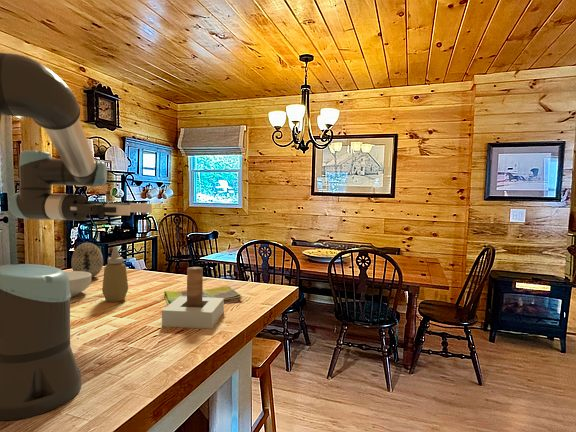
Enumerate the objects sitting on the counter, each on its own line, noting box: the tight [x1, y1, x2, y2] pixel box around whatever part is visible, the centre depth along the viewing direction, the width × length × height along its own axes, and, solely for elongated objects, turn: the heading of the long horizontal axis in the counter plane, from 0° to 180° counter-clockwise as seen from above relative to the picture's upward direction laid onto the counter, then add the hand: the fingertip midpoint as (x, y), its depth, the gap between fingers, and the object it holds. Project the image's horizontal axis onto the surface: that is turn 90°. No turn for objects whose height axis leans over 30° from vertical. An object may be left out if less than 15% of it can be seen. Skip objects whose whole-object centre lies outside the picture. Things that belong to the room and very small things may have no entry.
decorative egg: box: [70, 242, 104, 279], centre depth 154 cm, size 12×12×15 cm
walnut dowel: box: [186, 266, 204, 308], centre depth 108 cm, size 4×4×15 cm
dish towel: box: [163, 285, 243, 306], centre depth 129 cm, size 18×24×3 cm
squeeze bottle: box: [101, 246, 129, 303], centre depth 125 cm, size 8×8×18 cm
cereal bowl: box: [64, 270, 93, 298], centre depth 129 cm, size 17×17×7 cm
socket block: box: [161, 296, 225, 330], centre depth 108 cm, size 14×14×4 cm
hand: (141, 209), depth 104 cm, fingers open, 13 cm apart
